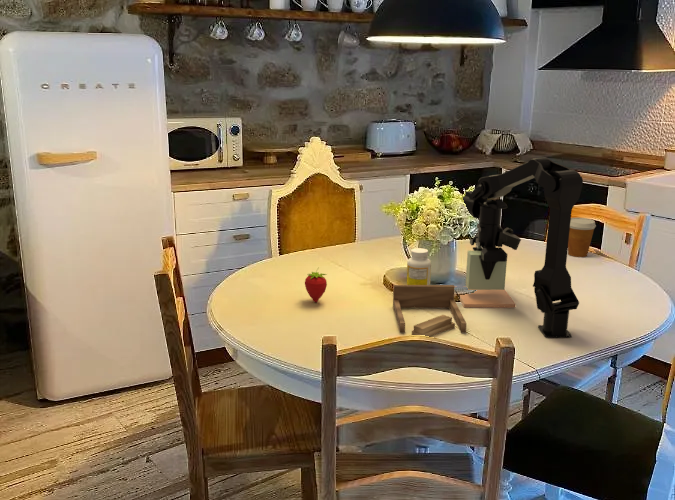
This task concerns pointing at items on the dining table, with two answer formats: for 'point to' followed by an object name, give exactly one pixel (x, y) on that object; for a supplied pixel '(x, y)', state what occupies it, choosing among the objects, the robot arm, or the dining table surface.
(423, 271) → the supplement bottle
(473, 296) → the tile
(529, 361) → the dining table surface
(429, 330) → the offcut stack
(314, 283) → the strawberry
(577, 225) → the disposable coffee cup
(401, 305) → the rack
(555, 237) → the robot arm
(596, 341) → the dining table surface
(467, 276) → the sage green square block
